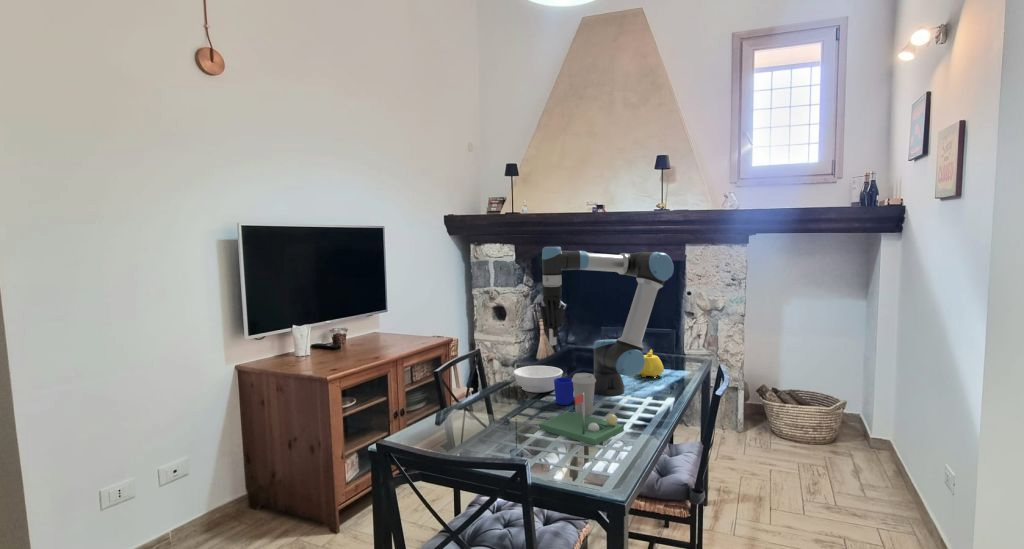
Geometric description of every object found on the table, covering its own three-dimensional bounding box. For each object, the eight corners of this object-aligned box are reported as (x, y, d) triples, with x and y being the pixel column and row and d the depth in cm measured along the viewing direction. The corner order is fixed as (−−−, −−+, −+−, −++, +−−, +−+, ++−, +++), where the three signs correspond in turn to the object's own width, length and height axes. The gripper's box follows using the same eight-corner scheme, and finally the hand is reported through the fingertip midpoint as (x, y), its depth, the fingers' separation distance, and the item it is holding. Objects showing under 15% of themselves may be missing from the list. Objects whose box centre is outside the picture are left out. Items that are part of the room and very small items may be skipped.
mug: (582, 407, 221) (582, 383, 220) (553, 406, 223) (552, 382, 223) (584, 401, 229) (583, 377, 228) (555, 400, 231) (555, 377, 231)
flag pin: (583, 432, 186) (582, 392, 185) (585, 433, 186) (584, 393, 185) (574, 437, 183) (574, 396, 182) (576, 437, 182) (576, 396, 181)
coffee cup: (577, 418, 208) (577, 379, 207) (568, 410, 217) (567, 373, 216) (600, 415, 210) (600, 377, 209) (590, 408, 220) (590, 371, 219)
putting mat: (569, 416, 210) (569, 411, 210) (623, 430, 194) (623, 425, 194) (539, 429, 197) (539, 423, 197) (595, 445, 180) (595, 439, 180)
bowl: (563, 383, 259) (562, 365, 259) (562, 396, 237) (562, 377, 236) (516, 382, 261) (515, 365, 261) (511, 396, 239) (511, 377, 238)
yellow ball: (610, 422, 196) (610, 411, 196) (619, 425, 193) (619, 414, 193) (604, 425, 193) (603, 414, 193) (613, 428, 191) (613, 416, 190)
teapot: (634, 370, 281) (634, 348, 280) (664, 372, 276) (664, 349, 275) (630, 380, 262) (630, 356, 261) (662, 382, 257) (662, 358, 256)
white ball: (587, 425, 194) (597, 420, 193) (593, 436, 192) (602, 430, 191) (584, 426, 190) (594, 420, 189) (590, 436, 189) (599, 431, 188)
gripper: (533, 285, 217) (534, 344, 219) (559, 287, 208) (560, 348, 210) (545, 284, 223) (546, 341, 224) (571, 285, 214) (571, 345, 215)
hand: (553, 344), depth 217 cm, fingers closed
